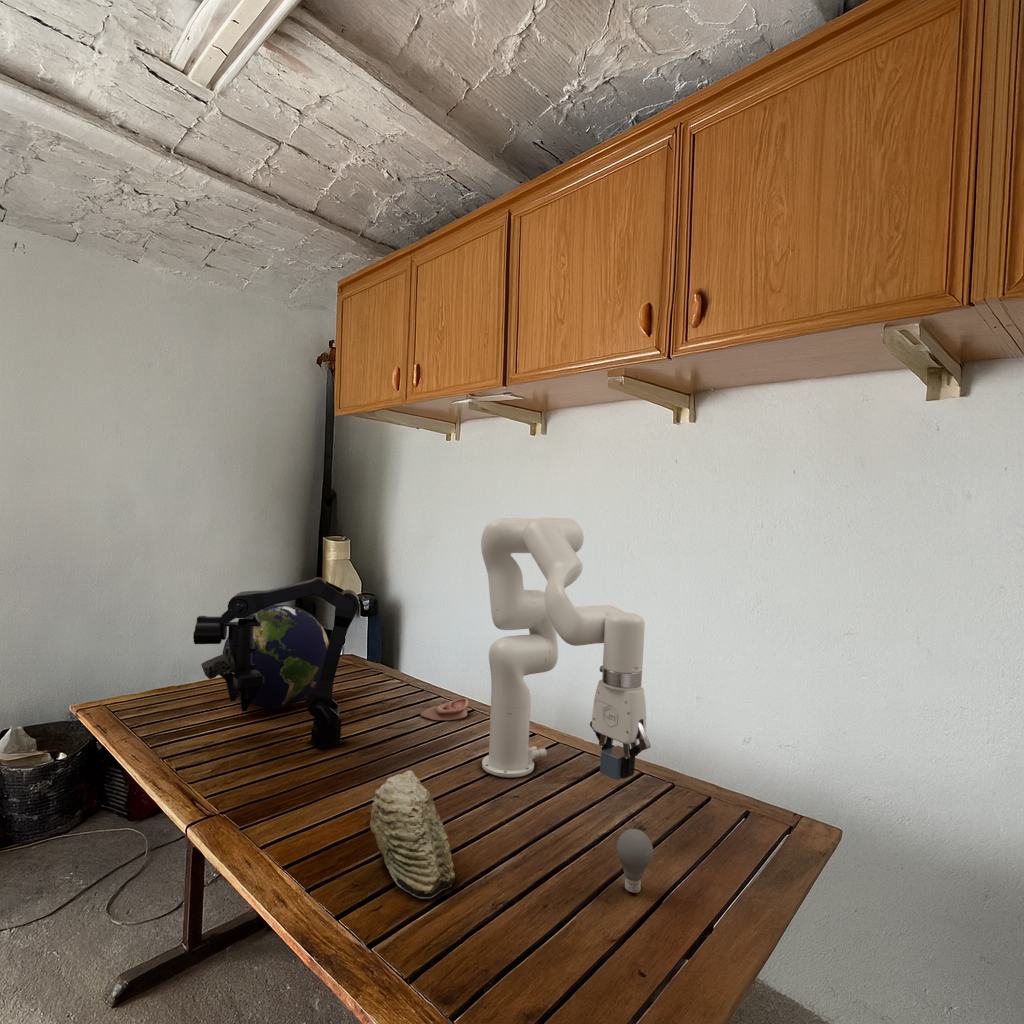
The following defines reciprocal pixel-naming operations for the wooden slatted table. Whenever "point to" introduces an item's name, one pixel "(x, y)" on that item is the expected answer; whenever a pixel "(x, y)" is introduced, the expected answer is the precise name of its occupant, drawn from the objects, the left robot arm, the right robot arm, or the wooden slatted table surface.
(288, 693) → the globe
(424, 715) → the anatomical model
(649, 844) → the light bulb
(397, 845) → the fossil
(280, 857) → the wooden slatted table surface
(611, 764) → the blue-grey block
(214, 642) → the left robot arm
